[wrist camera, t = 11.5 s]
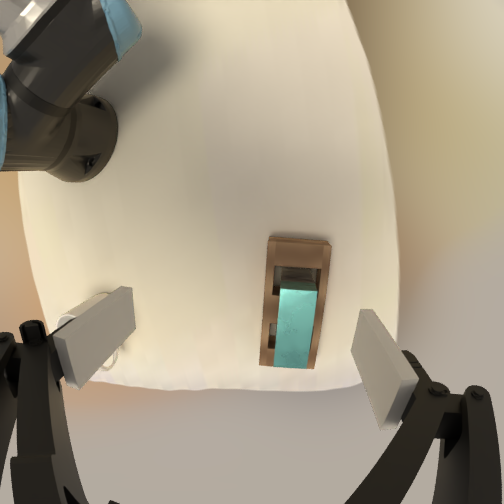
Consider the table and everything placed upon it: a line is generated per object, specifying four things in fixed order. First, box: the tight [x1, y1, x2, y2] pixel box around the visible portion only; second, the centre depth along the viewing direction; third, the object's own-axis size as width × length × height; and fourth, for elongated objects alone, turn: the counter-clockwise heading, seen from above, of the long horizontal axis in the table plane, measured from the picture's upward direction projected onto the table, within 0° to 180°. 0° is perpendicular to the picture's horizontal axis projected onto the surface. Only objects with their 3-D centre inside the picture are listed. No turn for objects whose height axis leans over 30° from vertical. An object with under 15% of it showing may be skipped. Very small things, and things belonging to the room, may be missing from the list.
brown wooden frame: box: [259, 237, 332, 369], centre depth 40 cm, size 18×8×4 cm, turn 177°
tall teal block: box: [273, 266, 318, 369], centre depth 37 cm, size 10×4×10 cm, turn 177°
